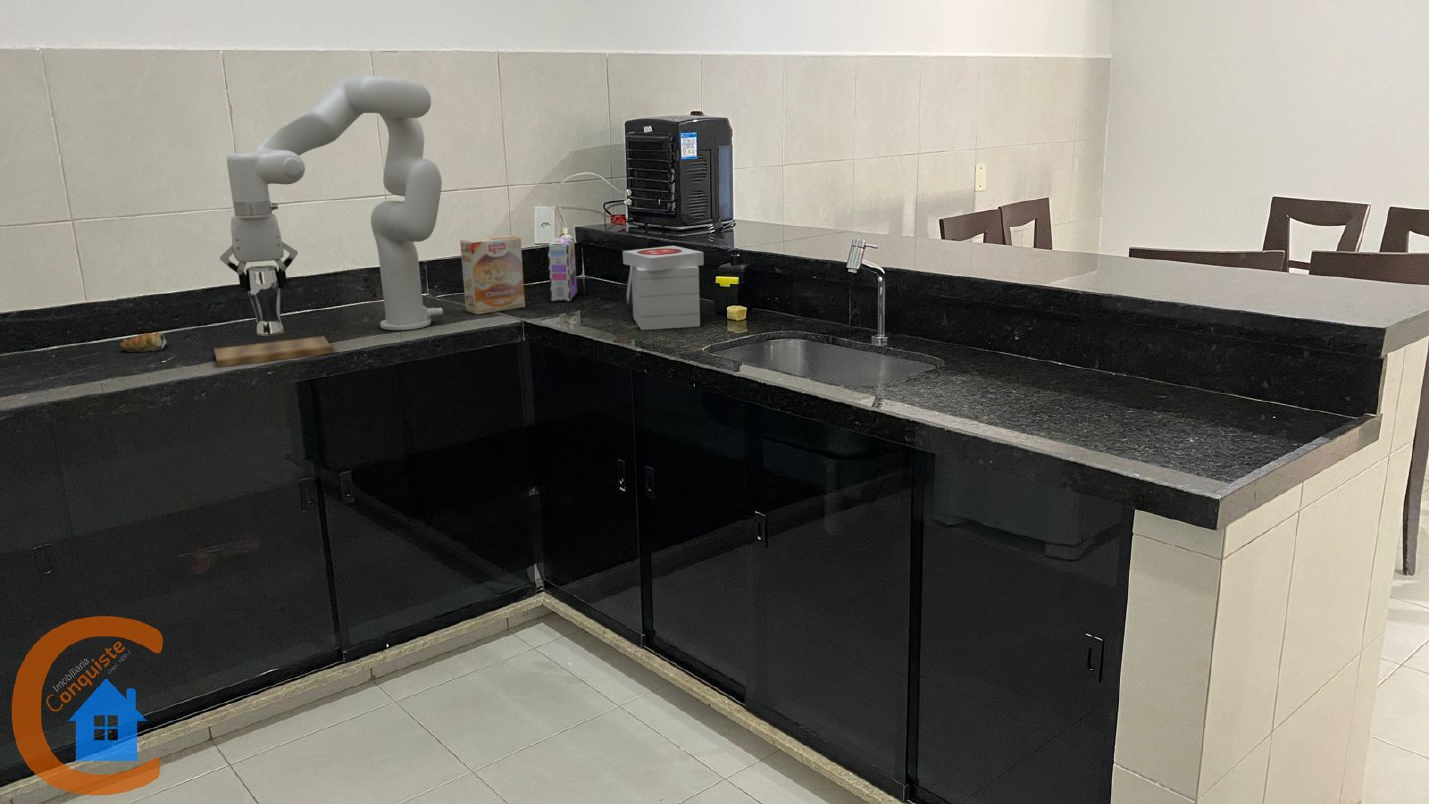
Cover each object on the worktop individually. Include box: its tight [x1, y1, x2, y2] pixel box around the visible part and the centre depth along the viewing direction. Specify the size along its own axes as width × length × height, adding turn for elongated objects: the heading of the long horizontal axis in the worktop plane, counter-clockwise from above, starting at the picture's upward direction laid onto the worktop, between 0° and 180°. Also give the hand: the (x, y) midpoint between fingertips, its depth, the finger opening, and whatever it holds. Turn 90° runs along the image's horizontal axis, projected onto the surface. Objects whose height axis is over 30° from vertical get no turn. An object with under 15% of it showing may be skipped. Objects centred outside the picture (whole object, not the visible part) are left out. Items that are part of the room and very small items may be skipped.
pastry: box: [119, 331, 167, 353], centre depth 242 cm, size 9×7×4 cm
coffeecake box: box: [459, 234, 526, 315], centre depth 278 cm, size 15×7×20 cm, turn 129°
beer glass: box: [244, 264, 286, 337], centre depth 232 cm, size 7×7×15 cm
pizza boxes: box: [622, 245, 705, 331], centre depth 263 cm, size 19×30×18 cm, turn 12°
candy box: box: [547, 237, 578, 302], centre depth 293 cm, size 14×6×16 cm, turn 179°
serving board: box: [213, 335, 333, 368], centre depth 235 cm, size 24×13×2 cm, turn 118°
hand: (264, 288), depth 231 cm, fingers closed on beer glass, 7 cm apart
